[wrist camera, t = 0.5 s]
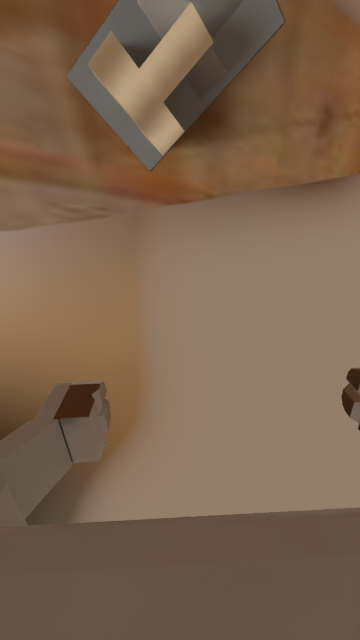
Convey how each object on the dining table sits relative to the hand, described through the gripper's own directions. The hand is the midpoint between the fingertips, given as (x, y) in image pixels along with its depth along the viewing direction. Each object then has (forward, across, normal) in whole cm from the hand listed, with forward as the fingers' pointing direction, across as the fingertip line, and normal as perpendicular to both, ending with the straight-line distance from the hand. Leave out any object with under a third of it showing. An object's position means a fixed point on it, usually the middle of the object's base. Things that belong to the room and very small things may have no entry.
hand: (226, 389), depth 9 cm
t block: (+44, +3, -20) cm, 48 cm away
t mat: (+44, 0, -23) cm, 50 cm away
